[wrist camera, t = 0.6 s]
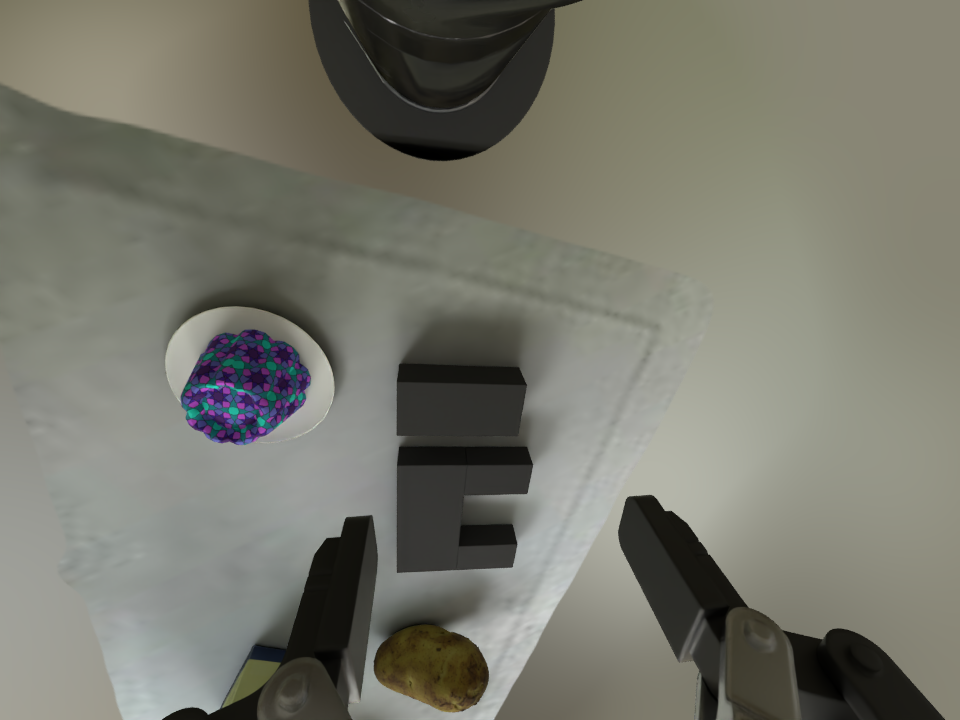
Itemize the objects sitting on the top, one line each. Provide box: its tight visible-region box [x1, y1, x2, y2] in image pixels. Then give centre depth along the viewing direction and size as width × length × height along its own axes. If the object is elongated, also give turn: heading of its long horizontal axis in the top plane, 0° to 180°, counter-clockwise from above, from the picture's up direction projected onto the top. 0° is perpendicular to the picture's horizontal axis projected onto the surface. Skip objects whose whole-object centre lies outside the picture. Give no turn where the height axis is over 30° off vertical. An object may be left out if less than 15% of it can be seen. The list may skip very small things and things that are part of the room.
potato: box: [374, 624, 489, 712], centre depth 45 cm, size 8×13×8 cm, turn 75°
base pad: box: [397, 447, 533, 573], centre depth 38 cm, size 14×12×2 cm
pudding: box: [165, 306, 335, 445], centre depth 28 cm, size 12×12×5 cm
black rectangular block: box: [397, 364, 527, 436], centre depth 32 cm, size 5×10×3 cm, turn 84°
